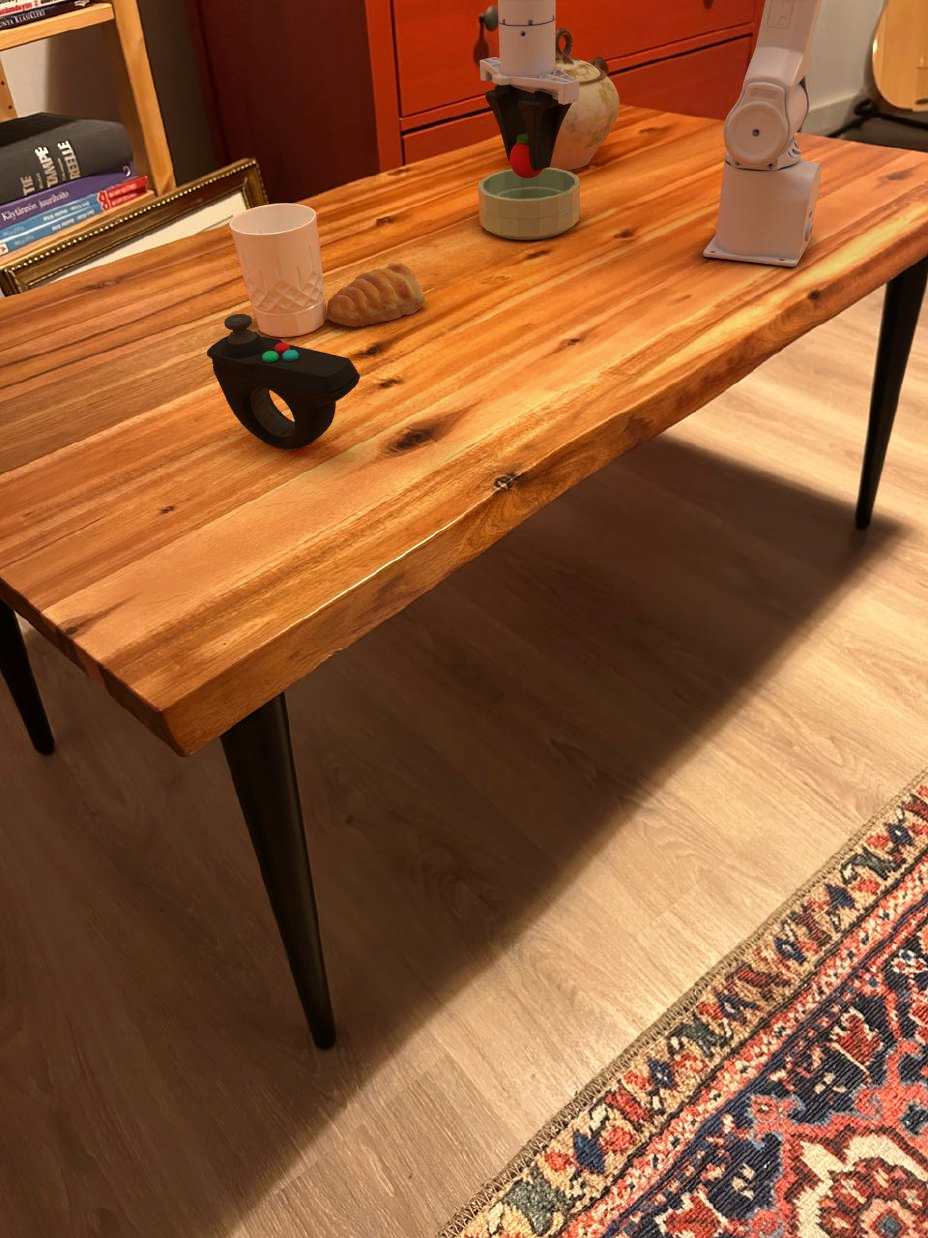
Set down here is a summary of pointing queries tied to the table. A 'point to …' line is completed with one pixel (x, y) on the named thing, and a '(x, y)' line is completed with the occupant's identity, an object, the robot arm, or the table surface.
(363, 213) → the table surface
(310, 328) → the white cup
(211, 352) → the controller
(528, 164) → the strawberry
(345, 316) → the pastry
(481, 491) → the table surface
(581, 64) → the cream ceramic round pot
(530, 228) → the bowl
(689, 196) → the table surface
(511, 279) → the table surface
